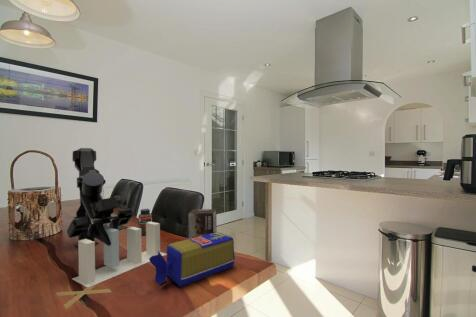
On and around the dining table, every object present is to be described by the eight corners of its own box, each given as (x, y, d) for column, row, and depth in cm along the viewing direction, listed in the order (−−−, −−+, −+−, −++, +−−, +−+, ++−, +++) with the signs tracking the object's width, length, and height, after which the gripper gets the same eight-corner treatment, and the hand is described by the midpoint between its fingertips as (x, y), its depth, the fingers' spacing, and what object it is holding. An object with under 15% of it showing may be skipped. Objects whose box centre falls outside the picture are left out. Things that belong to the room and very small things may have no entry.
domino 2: (112, 268, 75) (112, 231, 75) (103, 264, 78) (103, 229, 78) (119, 265, 77) (118, 229, 77) (110, 262, 79) (109, 227, 79)
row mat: (71, 281, 71) (71, 278, 71) (151, 251, 94) (150, 249, 94) (87, 290, 66) (87, 287, 66) (167, 256, 89) (167, 254, 89)
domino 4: (155, 256, 87) (155, 224, 87) (146, 253, 90) (146, 222, 90) (160, 254, 89) (159, 223, 89) (151, 251, 92) (150, 221, 92)
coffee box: (217, 252, 92) (217, 208, 92) (214, 259, 86) (213, 212, 86) (193, 251, 93) (193, 208, 93) (188, 258, 87) (188, 212, 87)
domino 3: (136, 264, 81) (135, 230, 81) (127, 260, 84) (126, 227, 84) (141, 261, 83) (141, 228, 83) (132, 258, 85) (132, 226, 85)
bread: (238, 267, 80) (238, 235, 79) (163, 296, 64) (163, 256, 64) (219, 258, 87) (219, 228, 87) (149, 281, 71) (148, 245, 71)
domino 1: (87, 283, 68) (87, 243, 68) (78, 279, 71) (78, 240, 71) (95, 280, 70) (94, 241, 70) (86, 276, 73) (85, 238, 73)
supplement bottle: (139, 236, 112) (138, 211, 112) (137, 233, 117) (137, 208, 117) (152, 234, 114) (152, 209, 114) (151, 231, 120) (150, 207, 120)
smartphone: (115, 230, 120) (97, 226, 127) (115, 232, 120) (97, 227, 127) (129, 227, 126) (111, 222, 134) (129, 228, 126) (111, 224, 134)
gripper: (70, 191, 71) (91, 236, 65) (130, 185, 87) (151, 221, 81) (59, 215, 76) (77, 260, 70) (117, 205, 91) (136, 241, 85)
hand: (113, 243), depth 76 cm, fingers closed on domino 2, 2 cm apart
